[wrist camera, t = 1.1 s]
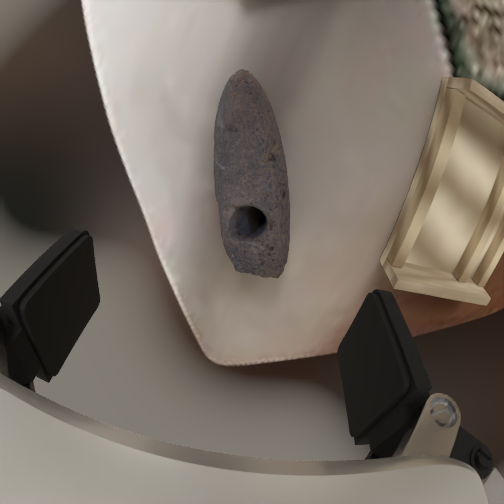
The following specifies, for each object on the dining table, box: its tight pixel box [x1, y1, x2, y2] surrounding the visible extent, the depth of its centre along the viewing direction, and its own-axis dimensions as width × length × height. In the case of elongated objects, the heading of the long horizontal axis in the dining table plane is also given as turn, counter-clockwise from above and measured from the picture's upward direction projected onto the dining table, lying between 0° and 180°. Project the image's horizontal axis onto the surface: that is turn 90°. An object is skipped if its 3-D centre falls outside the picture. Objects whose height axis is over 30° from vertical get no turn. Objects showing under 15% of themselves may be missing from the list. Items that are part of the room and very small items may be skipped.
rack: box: [380, 77, 504, 306], centre depth 21 cm, size 19×14×4 cm
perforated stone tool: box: [214, 69, 290, 278], centre depth 20 cm, size 15×5×7 cm, turn 4°
